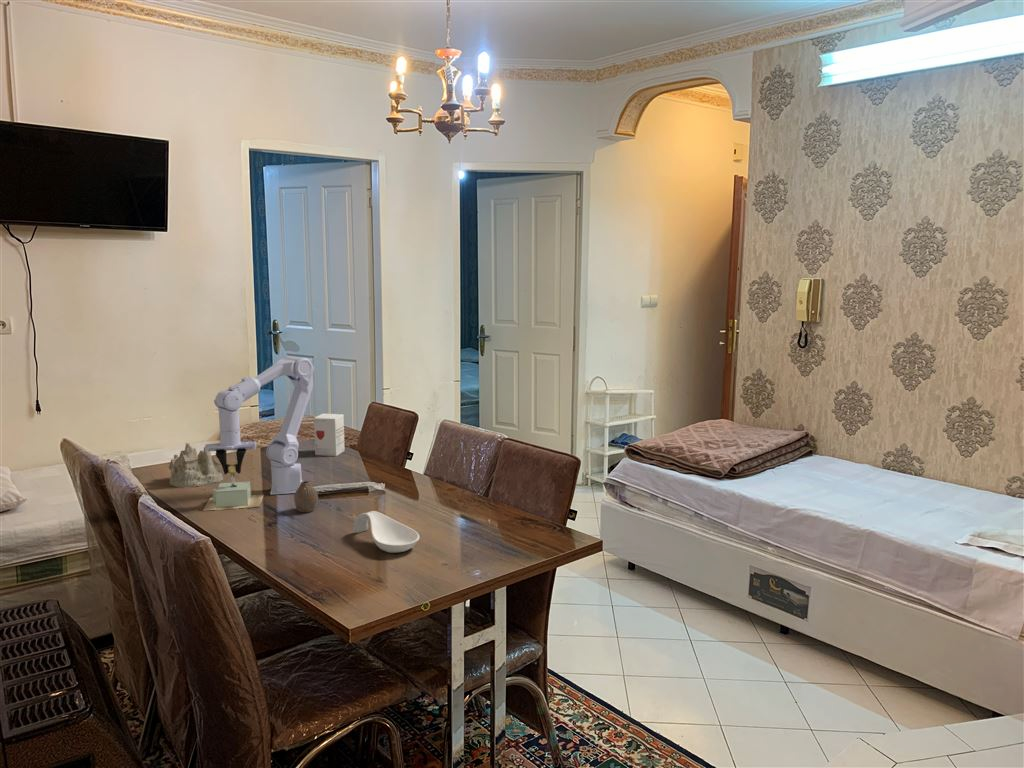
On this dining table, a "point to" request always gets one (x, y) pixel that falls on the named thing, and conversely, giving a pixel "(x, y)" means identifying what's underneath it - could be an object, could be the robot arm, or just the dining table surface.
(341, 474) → the dining table surface
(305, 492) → the vase
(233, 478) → the gold rounded piece
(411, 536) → the spoon rest
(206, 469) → the sand castle
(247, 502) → the mint green slotted box
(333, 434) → the supplement box
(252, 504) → the cork mat
